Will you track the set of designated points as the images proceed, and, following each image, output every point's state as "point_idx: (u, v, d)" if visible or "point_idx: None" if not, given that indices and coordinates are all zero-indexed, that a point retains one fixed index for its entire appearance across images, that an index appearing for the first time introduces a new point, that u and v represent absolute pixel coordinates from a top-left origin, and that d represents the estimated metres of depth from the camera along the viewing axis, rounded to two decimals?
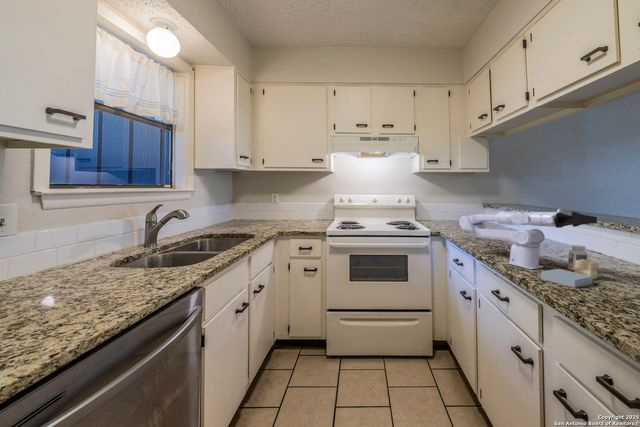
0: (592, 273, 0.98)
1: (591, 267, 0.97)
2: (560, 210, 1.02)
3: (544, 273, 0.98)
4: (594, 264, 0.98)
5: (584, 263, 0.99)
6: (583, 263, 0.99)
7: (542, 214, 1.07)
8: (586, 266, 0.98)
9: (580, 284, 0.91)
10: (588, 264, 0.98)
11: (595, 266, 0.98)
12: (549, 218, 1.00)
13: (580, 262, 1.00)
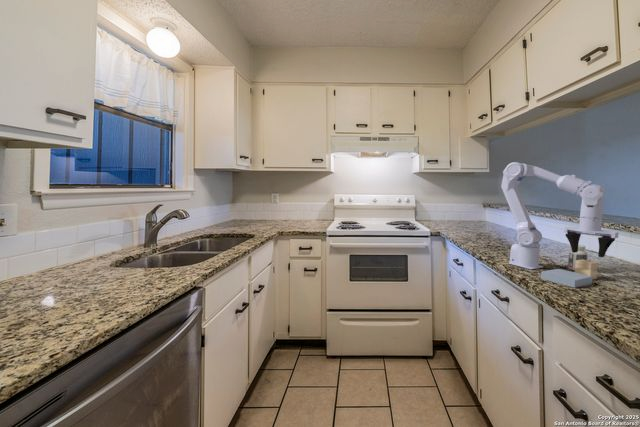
0: (592, 273, 0.98)
1: (591, 267, 0.97)
2: None
3: (544, 273, 0.98)
4: (594, 264, 0.98)
5: (584, 263, 0.99)
6: (583, 263, 0.99)
7: None
8: (586, 266, 0.98)
9: (580, 284, 0.91)
10: (588, 264, 0.98)
11: (595, 266, 0.98)
12: (617, 234, 0.92)
13: (580, 262, 1.00)
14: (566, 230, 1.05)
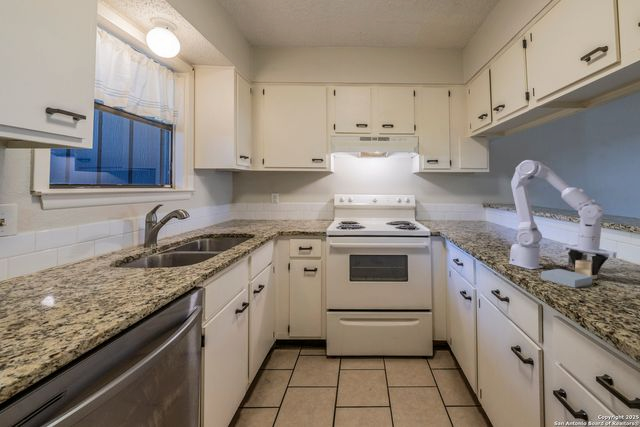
0: None
1: (591, 267, 0.97)
2: None
3: (544, 273, 0.98)
4: None
5: (584, 263, 0.99)
6: (583, 263, 0.99)
7: None
8: (586, 266, 0.98)
9: (580, 284, 0.91)
10: (588, 264, 0.98)
11: None
12: (615, 254, 0.93)
13: (580, 262, 1.00)
14: (565, 248, 1.05)
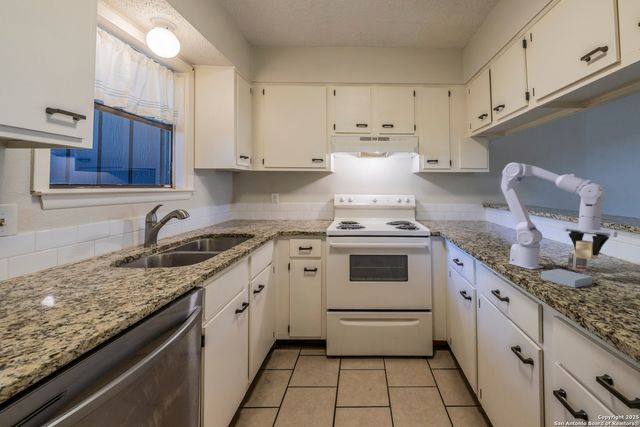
0: None
1: (592, 247, 0.96)
2: None
3: (544, 273, 0.98)
4: None
5: (585, 243, 0.98)
6: (584, 243, 0.98)
7: None
8: (586, 246, 0.97)
9: (580, 284, 0.91)
10: (589, 244, 0.97)
11: None
12: None
13: (581, 242, 0.99)
14: (565, 229, 1.04)
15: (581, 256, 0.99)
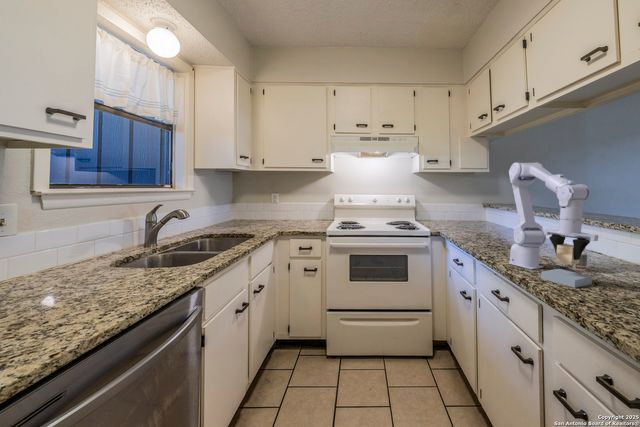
0: (573, 258, 0.93)
1: (573, 251, 0.92)
2: None
3: (544, 273, 0.98)
4: None
5: (565, 247, 0.94)
6: (564, 247, 0.94)
7: None
8: (567, 250, 0.93)
9: (580, 284, 0.91)
10: (569, 248, 0.93)
11: None
12: (597, 237, 0.88)
13: (561, 246, 0.95)
14: (546, 232, 1.00)
15: (562, 260, 0.95)
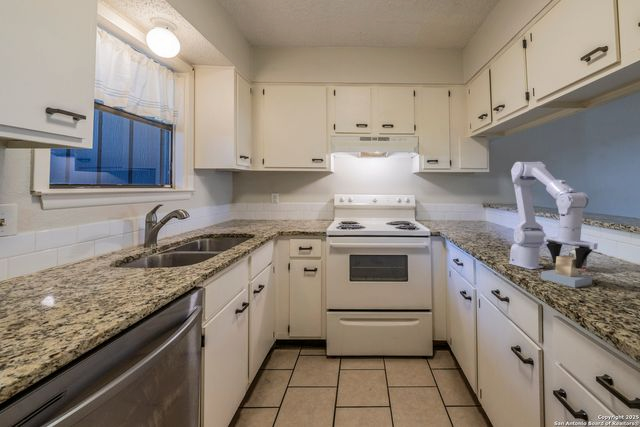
0: (572, 270, 0.93)
1: (572, 263, 0.93)
2: None
3: (544, 273, 0.98)
4: (575, 260, 0.93)
5: (565, 259, 0.94)
6: (564, 259, 0.94)
7: None
8: (566, 262, 0.94)
9: (580, 284, 0.91)
10: (569, 260, 0.93)
11: None
12: (596, 245, 0.88)
13: (561, 258, 0.95)
14: (546, 240, 1.01)
15: (561, 272, 0.95)
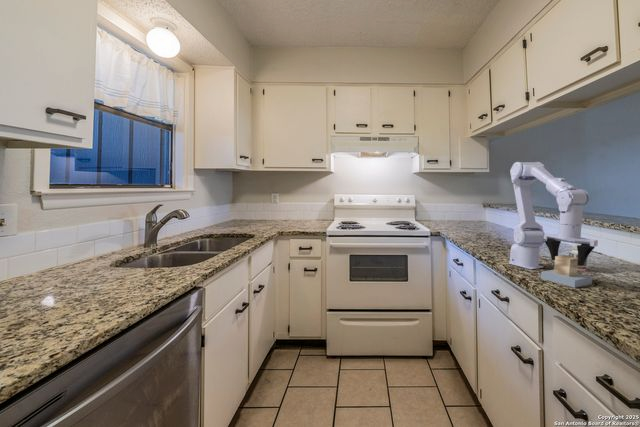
0: (571, 270, 0.94)
1: (570, 263, 0.93)
2: None
3: (544, 273, 0.98)
4: (574, 260, 0.94)
5: (563, 259, 0.95)
6: (562, 259, 0.95)
7: None
8: (565, 262, 0.94)
9: (580, 284, 0.91)
10: (567, 260, 0.94)
11: (575, 262, 0.94)
12: (597, 242, 0.88)
13: (559, 258, 0.96)
14: (546, 237, 1.00)
15: (560, 272, 0.96)
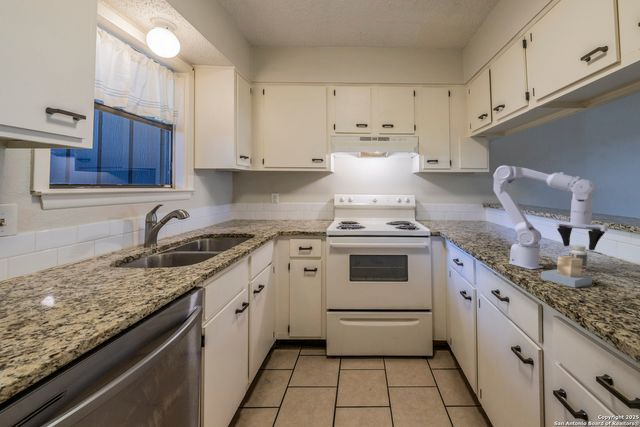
0: (573, 270, 0.93)
1: (572, 263, 0.93)
2: None
3: (544, 273, 0.98)
4: (576, 261, 0.93)
5: (565, 259, 0.94)
6: (564, 259, 0.94)
7: None
8: (567, 262, 0.94)
9: (580, 284, 0.91)
10: (569, 260, 0.93)
11: (578, 263, 0.93)
12: (607, 227, 0.95)
13: (562, 258, 0.95)
14: (558, 224, 1.07)
15: (562, 272, 0.95)
